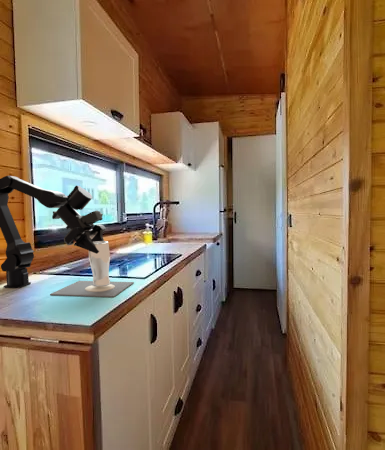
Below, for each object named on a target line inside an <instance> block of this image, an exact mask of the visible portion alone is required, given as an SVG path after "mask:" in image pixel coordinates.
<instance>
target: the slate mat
mask: <svg viewBox="0 0 385 450" xmlns="http://www.w3.org/2000/svg"><path fill="white" fill-rule="evenodd" d="M92 284H93V280H78V281H76V282H73V283H71V284H69V285H67V286H65V287H63V288H60V289H58V290H55V291H53V292H52V293H49V294H50V296H59V297H60V296H63V297H64V296H66V297H90V298H93V297H94V298H115V297H117V296H118V295H119V294H121V293H122V292H124V291H125V290H126V289H128V288H129V287H130V286H132V285H133V284H134V281H110V285H108V286H105V287H93V286H92ZM127 287H128V288H127ZM123 290H124V291H123ZM116 295H117V296H116Z"/></svg>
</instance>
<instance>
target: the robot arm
mask: <svg viewBox="0 0 385 450" xmlns="http://www.w3.org/2000/svg"><path fill="white" fill-rule="evenodd" d="M14 190H15V191H17V192H20V193H23V194H24V195H27V196H29V197H31V198H34V199H36V201H38V203H39V204H41V205H43V206H44V207H45V208H47V209H57V210H56V211H55V210H54V211H52V217H51V219H52V220H60V219H61V221H62V222H63V223H64V224H65V226H66V227H65V229H66V230H69V232H67V234H66V235H65V236H64V239H63V241H64V243H65V244H66V245H67V246H72V245H73V246H74V247H77V248H81V249H84V250H87V251H88V252H89V251H91V252H93V253H96V254H97V253H99V250H98V249H97V248H96V247H95V245H94V243H93V242H95V241H105V240H104V236H103V233H104V232H105V231H106V229H107V228H106V226H105V225H103V224H96V225H95V223H98V222H99V221H103V216H104V215H103V214H104V213H102V212H101V211H100V210H93V211H91V212H89V213H87V214H85V215H82V214H80V213H79V212H78V211H79V210H80V211H82V210H83V209H84V208H85V207H86V206H87V205H88V204H89V203H90V201H91V200H92V199H93V195H92V194H91V193H90V192H89V191H87V190H86V189H84V188H83V187H82V186H80V185H75V186H74V187H73V189H72V190H71V191H70V192H69V194H68V195H66V194H65V193H63V192H61V191H57V190H51V189H45V188H43V187H41V186H38V185H35V184H33V183H32V182H31V183H30V182H28V181H26V180H24V179H20V177H18V176H15V175H14V176H13V175H6V176H3V177H1V178H0V231H1V234H2V237H4V240H5V243H6V249H5V257H6V259H5V260H4V261H3V262H2V263H1V264H0V269H1V271H2V272H5V275H6V276H5V277H6V278H5V279H6V284H5V285H3V288H10V289H11V288H12V289H13V288H15V289H18V288H22V287H24V286H28V285H30V284H31V283H32V282H31V281H29V272H28V268H30V267H31V266H32V265H31V264H32V262H33V260H34V258H35V254H34V253H35V251H34V250H33V248H32V244H31V242H25V241H24V240H23V239H22V237H21V235H20V232H19V230H18V227H17V224H16V222H15V220H14V217H13V215H12V213H11V210H10V208H9V206H8V202H9V199H10V198H9V194H11V193H12V192H13V191H14ZM74 241H75V242H74Z"/></svg>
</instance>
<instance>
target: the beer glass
mask: <svg viewBox="0 0 385 450" xmlns="http://www.w3.org/2000/svg"><path fill="white" fill-rule="evenodd" d="M93 243H94V245H95V247H96V248H97V249H98V250H99V253H97V254H96V253H93V252H91V251H89V250H88V259H89V264H90V268H91V272H92V281H93V284H92V286H93V287H105V286H108V285H110V280H111V279H110V276H109V275H110V273H109V269H110V260H111V251H110V245H109V241H107V240H104V241H95V242H93Z"/></svg>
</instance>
